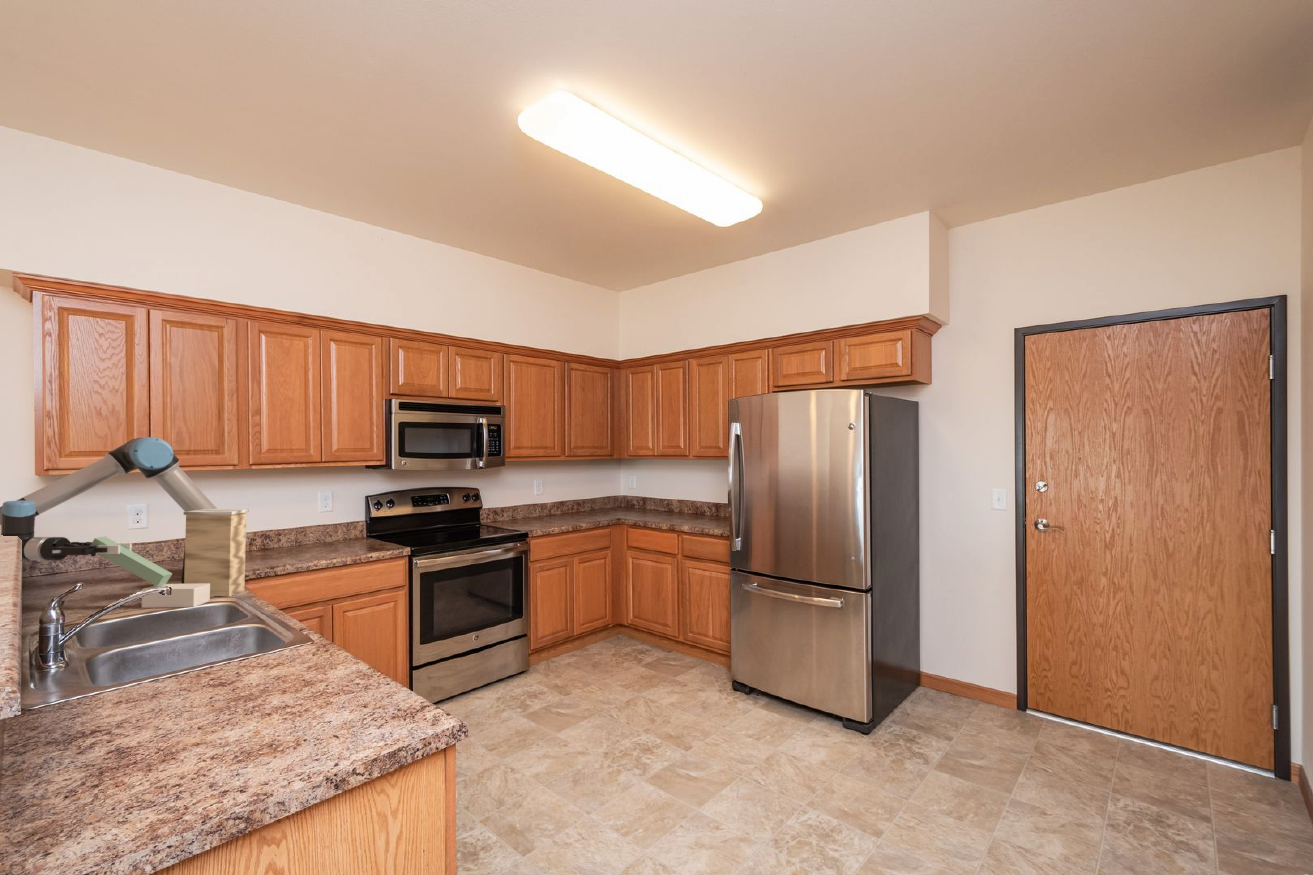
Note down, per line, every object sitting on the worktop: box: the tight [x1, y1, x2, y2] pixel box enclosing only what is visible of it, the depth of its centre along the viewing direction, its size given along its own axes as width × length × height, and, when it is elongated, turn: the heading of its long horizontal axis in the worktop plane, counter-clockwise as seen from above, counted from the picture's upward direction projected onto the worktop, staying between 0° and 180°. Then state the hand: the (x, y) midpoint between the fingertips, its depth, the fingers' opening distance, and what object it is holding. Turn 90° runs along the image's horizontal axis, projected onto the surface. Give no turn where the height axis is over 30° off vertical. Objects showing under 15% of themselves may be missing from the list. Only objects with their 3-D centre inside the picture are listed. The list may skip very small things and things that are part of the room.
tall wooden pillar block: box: [183, 508, 249, 598], centre depth 213 cm, size 10×16×30 cm, turn 95°
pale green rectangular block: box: [90, 536, 173, 586], centre depth 197 cm, size 4×25×4 cm
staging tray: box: [141, 583, 211, 609], centre depth 199 cm, size 8×16×6 cm, turn 95°
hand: (124, 548), depth 197 cm, fingers closed on pale green rectangular block, 4 cm apart
